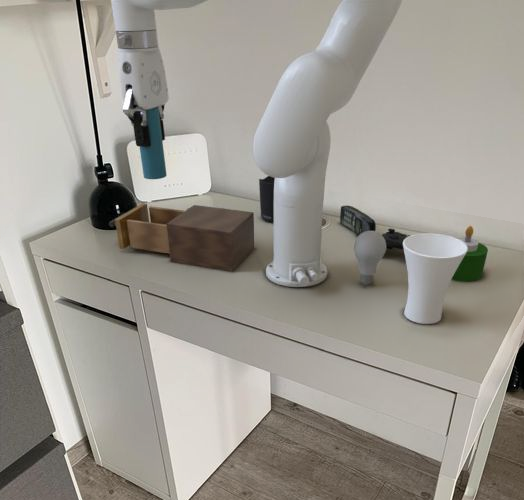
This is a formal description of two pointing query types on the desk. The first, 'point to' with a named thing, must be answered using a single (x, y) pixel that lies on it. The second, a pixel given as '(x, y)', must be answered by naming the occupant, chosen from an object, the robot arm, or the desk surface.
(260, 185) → the pen holder
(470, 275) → the candle
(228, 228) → the cabinet
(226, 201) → the desk surface
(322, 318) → the desk surface
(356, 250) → the lightbulb
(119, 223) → the drawer
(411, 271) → the cup
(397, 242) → the gaming controller
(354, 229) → the mobile phone
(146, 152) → the teal bottle
